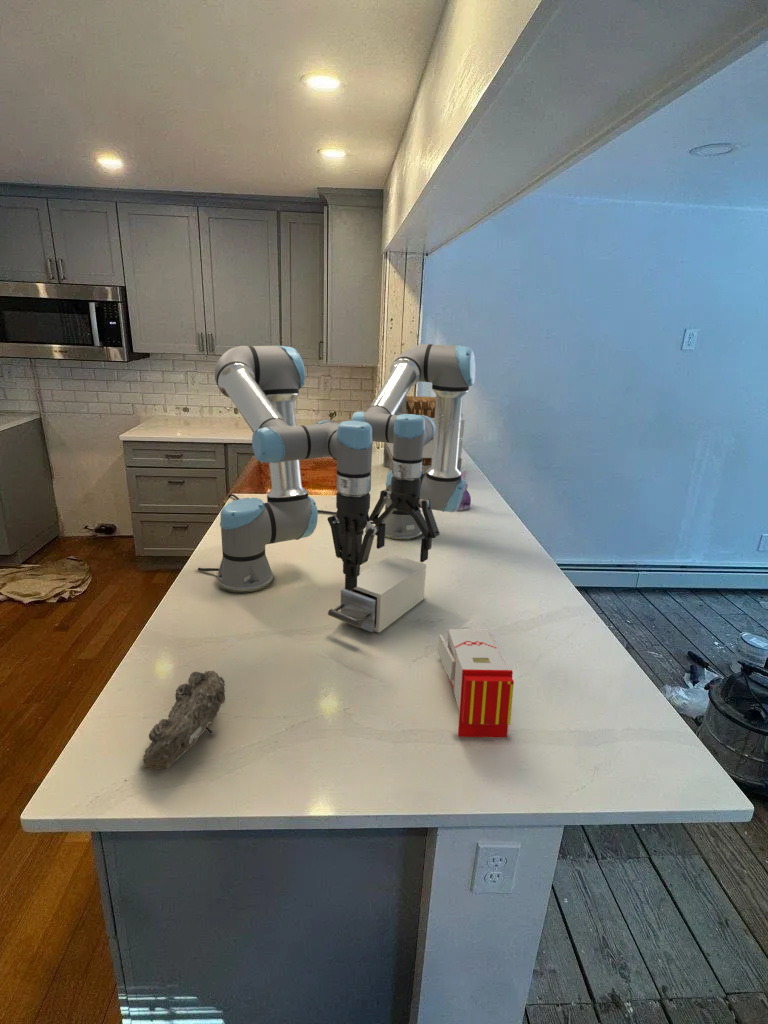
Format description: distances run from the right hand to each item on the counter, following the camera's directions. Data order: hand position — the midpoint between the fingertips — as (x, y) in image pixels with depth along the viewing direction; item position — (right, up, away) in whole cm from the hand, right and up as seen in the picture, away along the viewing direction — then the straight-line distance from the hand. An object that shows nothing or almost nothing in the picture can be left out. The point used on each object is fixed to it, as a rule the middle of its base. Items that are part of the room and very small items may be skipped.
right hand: (401, 553), depth 150 cm
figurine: (+26, +13, +79) cm, 84 cm away
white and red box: (+13, -27, -32) cm, 44 cm away
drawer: (-7, -15, -5) cm, 18 cm away
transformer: (+13, +30, +125) cm, 129 cm away
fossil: (-40, -29, -46) cm, 68 cm away
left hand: (-12, -7, -17) cm, 22 cm away
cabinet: (-4, -14, 0) cm, 15 cm away
